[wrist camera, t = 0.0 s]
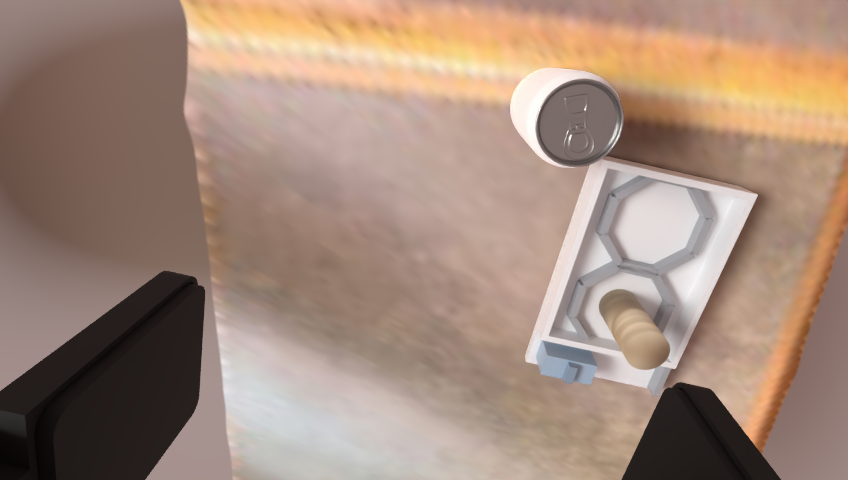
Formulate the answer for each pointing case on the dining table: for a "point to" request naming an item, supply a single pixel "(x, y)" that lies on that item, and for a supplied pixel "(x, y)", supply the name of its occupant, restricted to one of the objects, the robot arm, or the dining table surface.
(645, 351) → the dowel
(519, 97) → the can
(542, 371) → the latch
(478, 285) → the dining table surface
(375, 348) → the dining table surface
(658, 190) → the housing
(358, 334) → the dining table surface
